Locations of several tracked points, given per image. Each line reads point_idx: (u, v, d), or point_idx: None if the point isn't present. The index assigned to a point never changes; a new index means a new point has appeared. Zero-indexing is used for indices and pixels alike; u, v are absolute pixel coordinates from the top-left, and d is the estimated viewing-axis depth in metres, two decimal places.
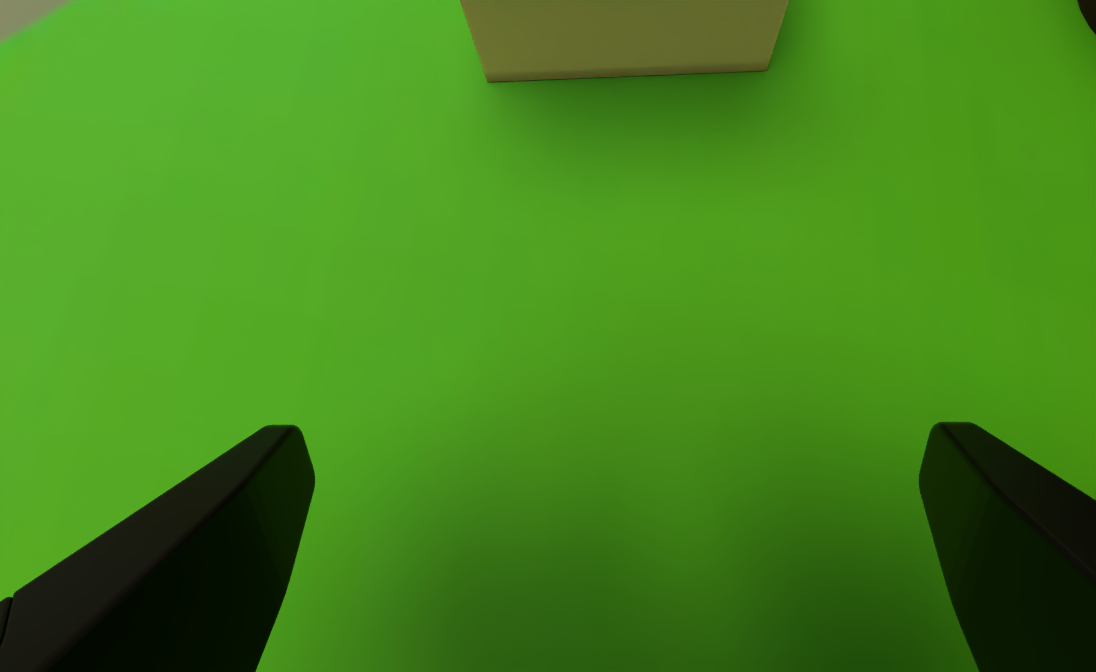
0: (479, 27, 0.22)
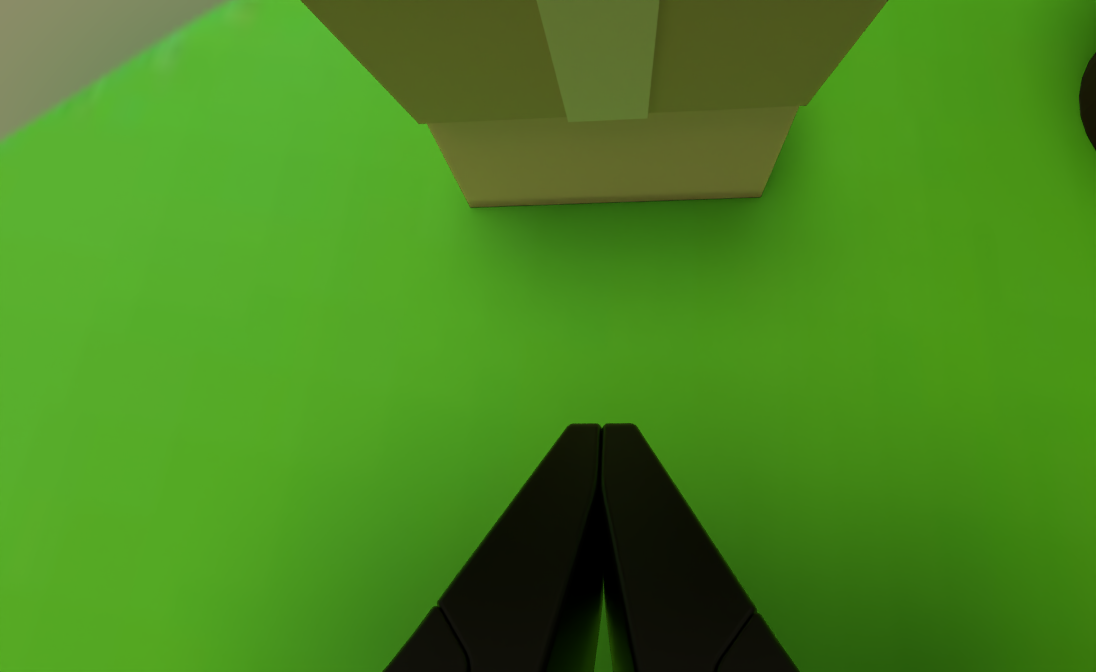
0: (459, 165, 0.21)
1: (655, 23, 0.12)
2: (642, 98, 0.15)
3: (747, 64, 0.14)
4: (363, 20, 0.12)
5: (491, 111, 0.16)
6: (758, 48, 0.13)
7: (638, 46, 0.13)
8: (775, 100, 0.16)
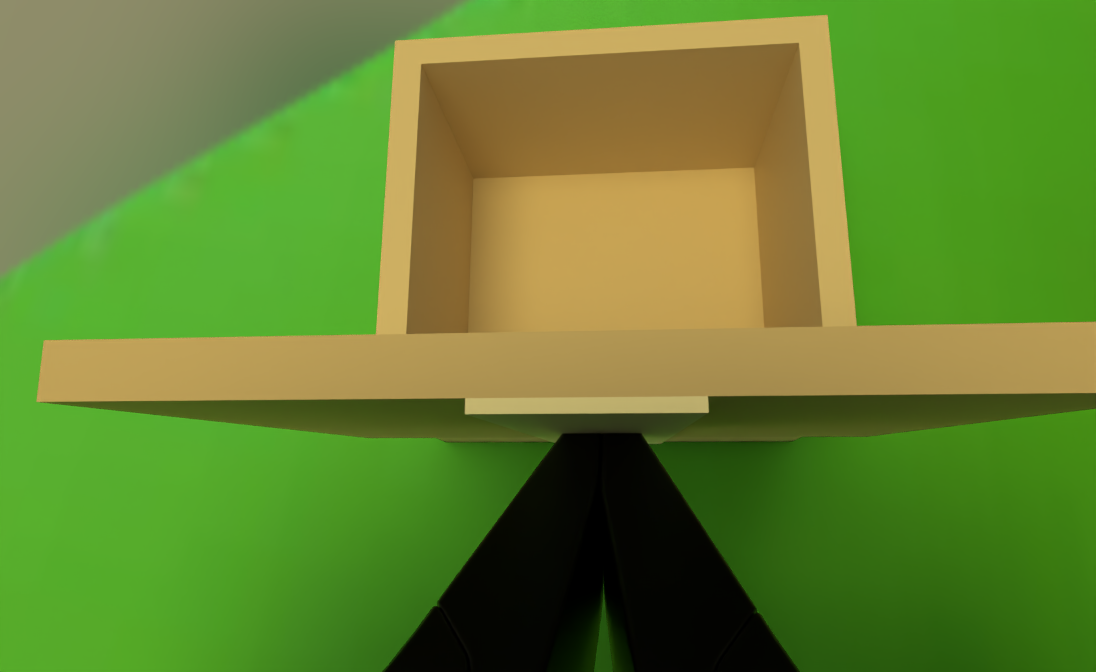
0: None
1: (679, 430, 0.08)
2: (655, 441, 0.12)
3: (801, 429, 0.10)
4: (253, 419, 0.08)
5: (459, 435, 0.13)
6: (819, 426, 0.09)
7: (653, 434, 0.09)
8: (827, 435, 0.12)
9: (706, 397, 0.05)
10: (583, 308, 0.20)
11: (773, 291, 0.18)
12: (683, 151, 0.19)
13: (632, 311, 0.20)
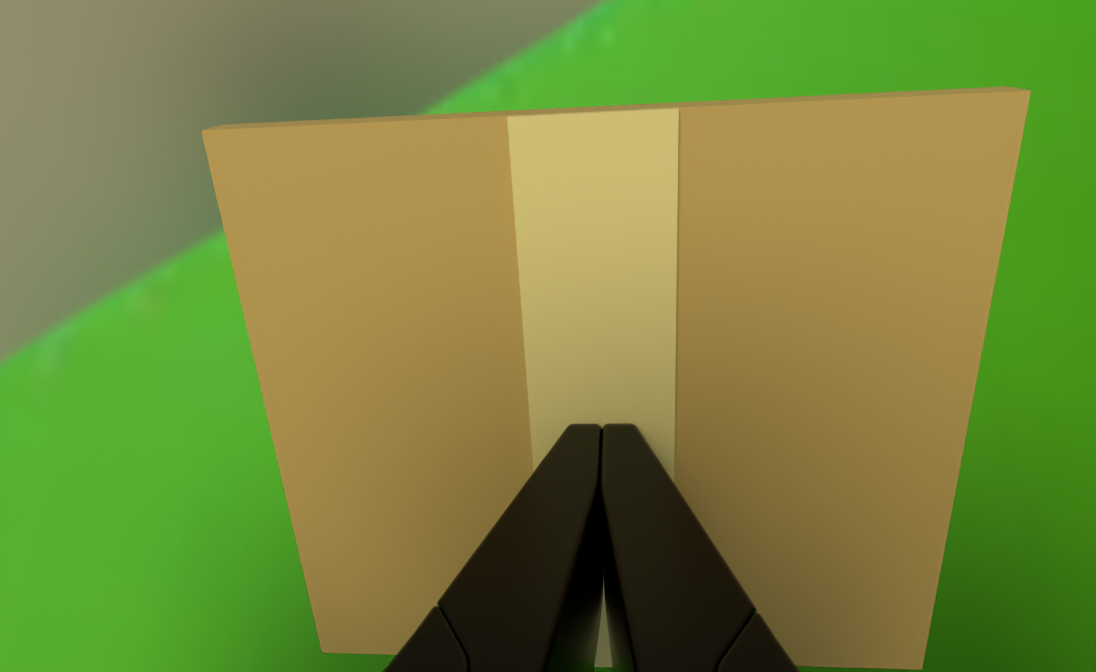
0: None
1: (673, 348, 0.09)
2: None
3: (814, 507, 0.10)
4: (296, 312, 0.09)
5: None
6: (823, 458, 0.09)
7: (652, 413, 0.09)
8: (869, 644, 0.10)
9: (677, 112, 0.08)
10: None
11: None
12: None
13: None
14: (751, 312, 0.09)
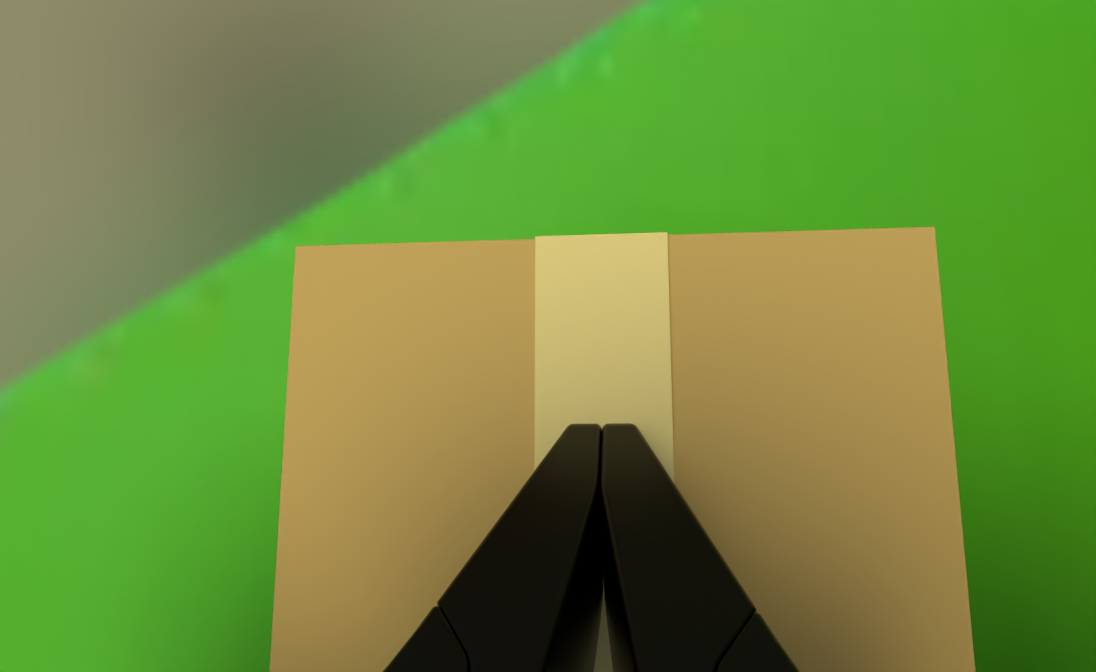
0: None
1: (670, 434, 0.10)
2: None
3: (824, 626, 0.09)
4: (333, 399, 0.10)
5: None
6: (826, 563, 0.09)
7: None
8: None
9: (666, 238, 0.10)
10: None
11: None
12: None
13: None
14: (739, 404, 0.10)
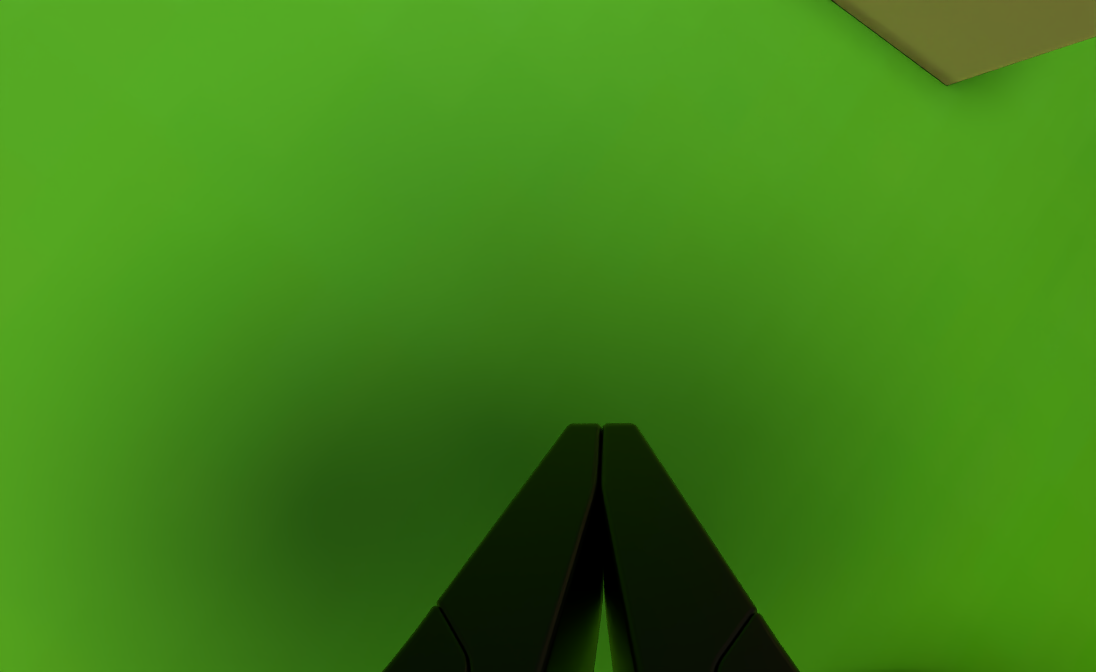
0: None
1: None
2: None
3: None
4: None
5: None
6: None
7: None
8: None
9: None
10: None
11: None
12: None
13: None
14: None
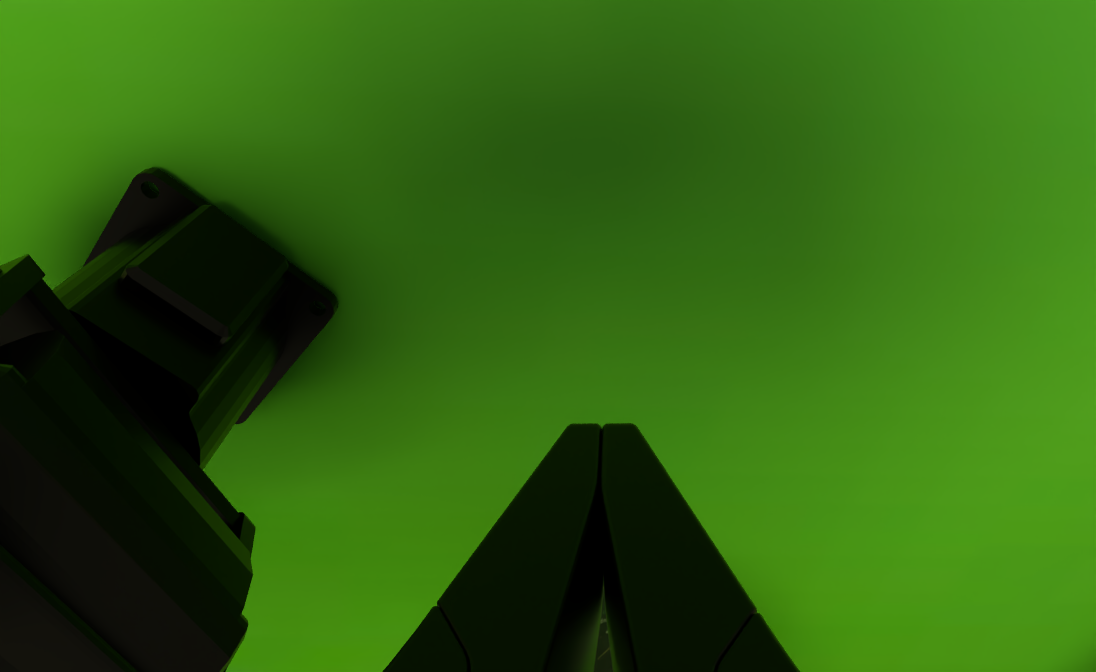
0: None
1: None
2: None
3: None
4: None
5: None
6: None
7: None
8: None
9: None
10: None
11: None
12: None
13: None
14: None
